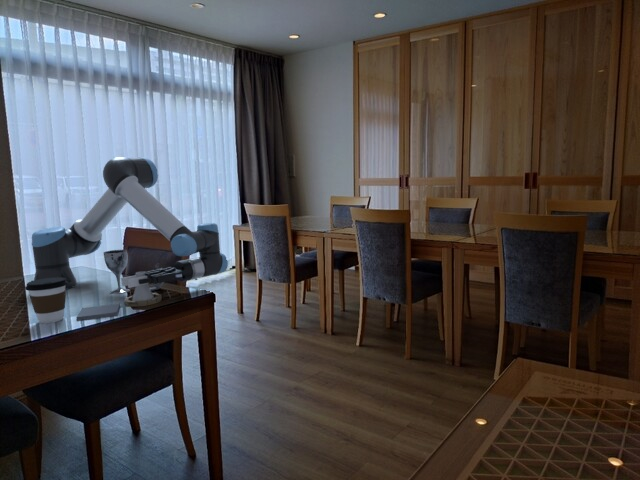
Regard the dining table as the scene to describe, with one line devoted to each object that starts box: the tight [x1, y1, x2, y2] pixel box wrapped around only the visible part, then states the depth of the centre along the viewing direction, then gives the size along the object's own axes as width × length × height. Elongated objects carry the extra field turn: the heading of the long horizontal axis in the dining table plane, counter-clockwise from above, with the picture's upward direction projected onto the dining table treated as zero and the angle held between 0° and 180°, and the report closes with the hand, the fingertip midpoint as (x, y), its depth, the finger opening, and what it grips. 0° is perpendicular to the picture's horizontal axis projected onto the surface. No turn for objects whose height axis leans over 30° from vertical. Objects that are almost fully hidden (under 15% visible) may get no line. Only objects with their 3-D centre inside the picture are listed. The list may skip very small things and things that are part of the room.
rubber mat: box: [76, 302, 121, 321], centre depth 146 cm, size 11×11×1 cm
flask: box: [132, 271, 154, 301], centre depth 156 cm, size 7×7×10 cm
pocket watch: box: [148, 262, 165, 292], centre depth 173 cm, size 8×8×10 cm
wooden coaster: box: [123, 292, 162, 308], centre depth 157 cm, size 11×11×2 cm
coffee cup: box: [24, 277, 68, 324], centre depth 140 cm, size 11×11×12 cm
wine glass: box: [103, 249, 131, 295], centre depth 173 cm, size 8×8×15 cm
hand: (125, 282), depth 152 cm, fingers closed on flask, 3 cm apart
